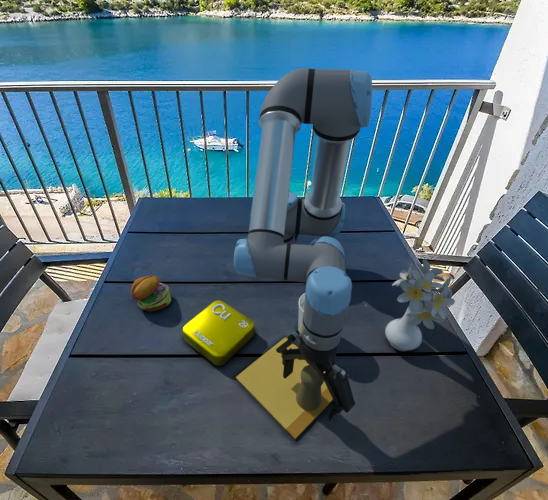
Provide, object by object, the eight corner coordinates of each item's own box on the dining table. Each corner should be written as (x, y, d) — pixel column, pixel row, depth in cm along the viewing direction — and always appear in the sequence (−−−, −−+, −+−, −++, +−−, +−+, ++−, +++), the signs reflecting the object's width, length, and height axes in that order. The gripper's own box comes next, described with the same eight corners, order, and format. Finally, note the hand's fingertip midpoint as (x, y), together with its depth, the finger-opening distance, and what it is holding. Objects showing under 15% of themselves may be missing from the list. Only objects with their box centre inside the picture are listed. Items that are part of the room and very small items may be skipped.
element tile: (180, 338, 96) (178, 327, 93) (218, 307, 105) (217, 296, 102) (219, 369, 89) (218, 358, 86) (257, 332, 98) (257, 321, 95)
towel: (285, 338, 97) (285, 336, 96) (344, 387, 85) (345, 386, 85) (235, 378, 87) (235, 376, 87) (295, 439, 75) (295, 438, 75)
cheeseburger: (165, 316, 102) (151, 292, 97) (134, 317, 106) (119, 293, 100) (178, 292, 110) (165, 268, 104) (149, 293, 113) (135, 270, 108)
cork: (293, 387, 84) (296, 361, 78) (318, 385, 85) (323, 358, 78) (298, 412, 80) (302, 385, 73) (324, 409, 80) (330, 383, 73)
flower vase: (383, 371, 88) (410, 304, 73) (372, 316, 103) (393, 249, 87) (436, 377, 87) (476, 310, 72) (418, 320, 101) (448, 253, 86)
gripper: (261, 310, 73) (260, 368, 86) (363, 393, 58) (343, 447, 72) (286, 293, 77) (281, 351, 90) (387, 366, 62) (364, 422, 76)
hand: (309, 393), depth 81 cm, fingers open, 13 cm apart
